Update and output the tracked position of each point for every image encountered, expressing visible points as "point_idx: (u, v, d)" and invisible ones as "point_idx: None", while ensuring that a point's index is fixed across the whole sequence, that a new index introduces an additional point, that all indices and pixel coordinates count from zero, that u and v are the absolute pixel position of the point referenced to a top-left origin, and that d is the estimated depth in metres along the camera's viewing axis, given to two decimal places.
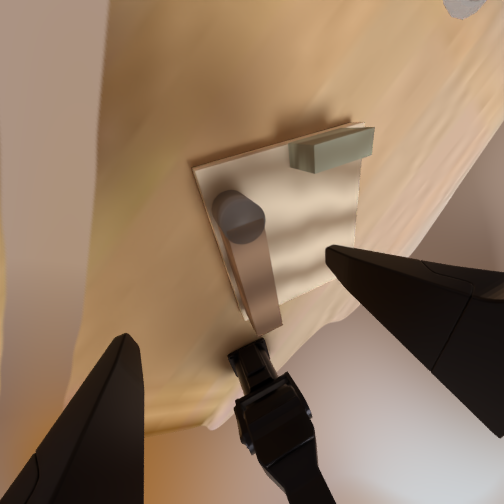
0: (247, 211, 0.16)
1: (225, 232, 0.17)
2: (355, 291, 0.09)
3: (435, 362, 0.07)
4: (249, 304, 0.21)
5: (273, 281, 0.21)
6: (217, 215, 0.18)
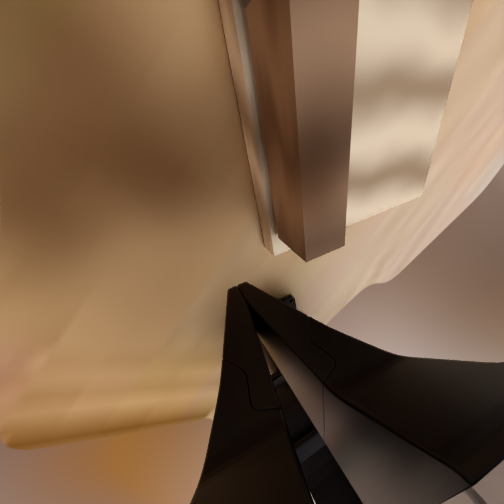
0: None
1: None
2: (261, 338, 0.08)
3: (323, 434, 0.06)
4: (302, 181, 0.11)
5: (349, 135, 0.11)
6: None
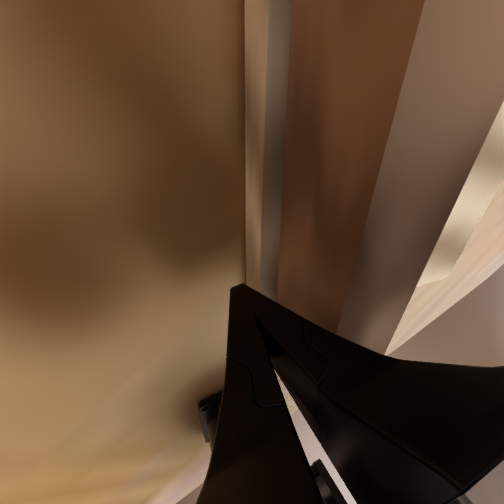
0: None
1: None
2: None
3: (320, 436, 0.06)
4: (353, 280, 0.06)
5: (449, 210, 0.06)
6: None
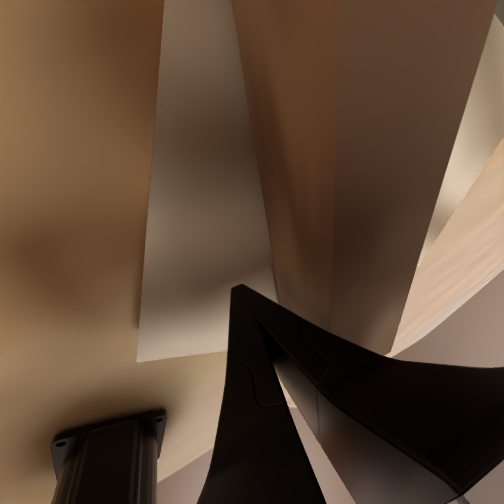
0: None
1: None
2: None
3: (319, 437, 0.06)
4: (335, 286, 0.06)
5: (434, 197, 0.05)
6: None
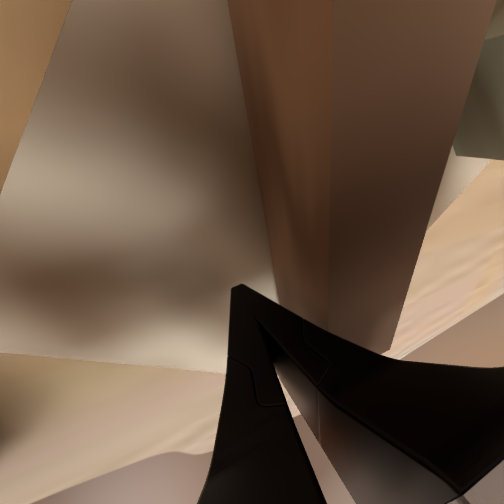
0: None
1: None
2: None
3: (319, 437, 0.06)
4: (332, 283, 0.06)
5: (434, 193, 0.05)
6: None
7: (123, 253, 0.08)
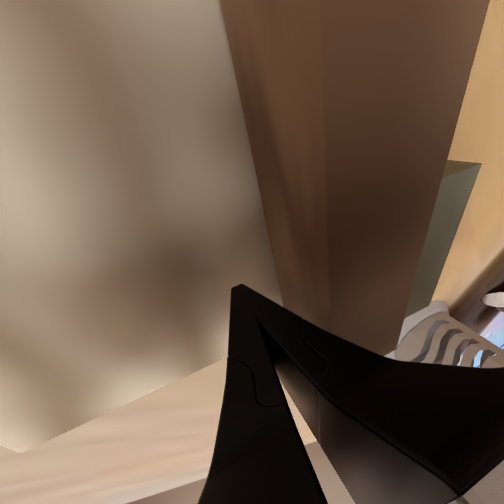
0: None
1: None
2: None
3: (319, 437, 0.06)
4: (333, 284, 0.06)
5: (435, 190, 0.05)
6: None
7: None
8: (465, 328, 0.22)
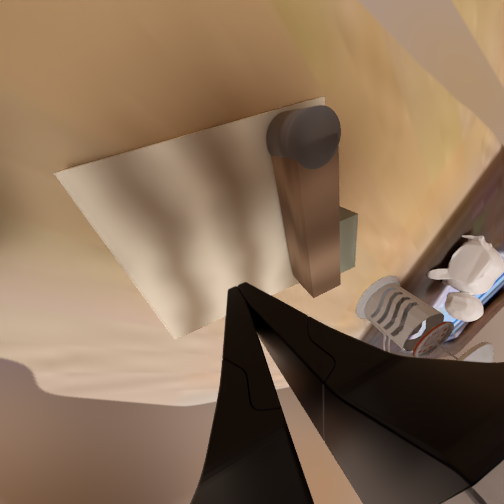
0: (321, 119, 0.13)
1: (294, 149, 0.13)
2: (261, 338, 0.08)
3: (324, 434, 0.06)
4: (309, 254, 0.18)
5: (338, 225, 0.18)
6: (279, 134, 0.14)
7: (165, 195, 0.16)
8: (405, 291, 0.34)
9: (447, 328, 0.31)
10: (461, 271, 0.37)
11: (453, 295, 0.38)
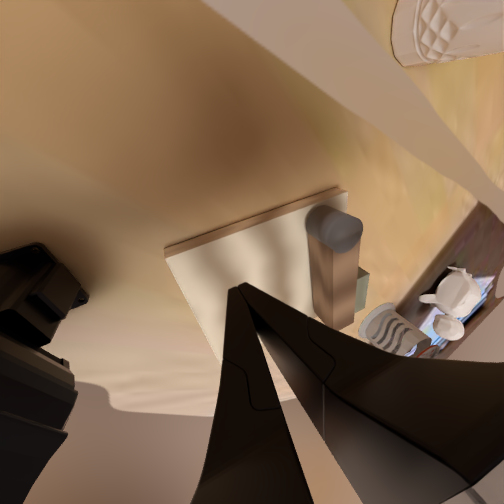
0: (351, 225, 0.19)
1: (332, 243, 0.19)
2: (261, 338, 0.08)
3: (324, 433, 0.06)
4: (334, 304, 0.24)
5: (355, 284, 0.24)
6: (320, 228, 0.20)
7: (232, 264, 0.22)
8: (400, 317, 0.41)
9: (434, 350, 0.38)
10: (446, 297, 0.44)
11: (440, 317, 0.45)
